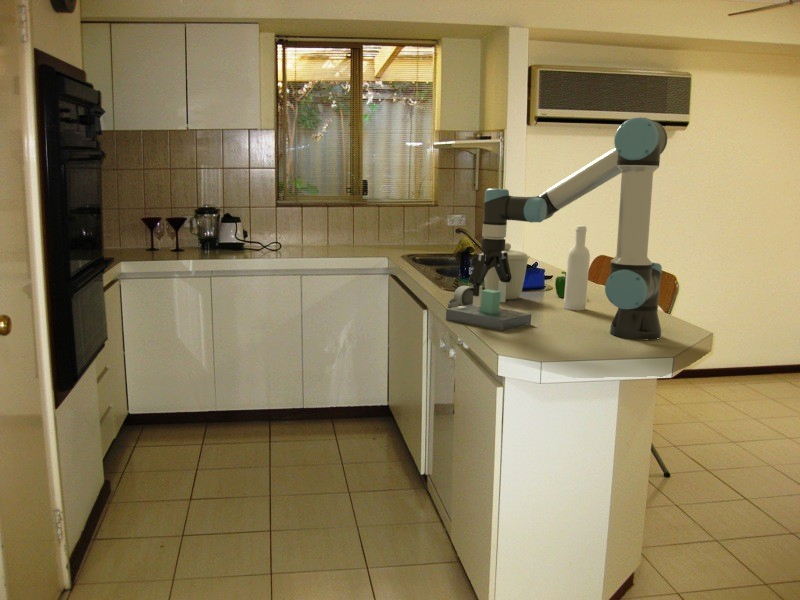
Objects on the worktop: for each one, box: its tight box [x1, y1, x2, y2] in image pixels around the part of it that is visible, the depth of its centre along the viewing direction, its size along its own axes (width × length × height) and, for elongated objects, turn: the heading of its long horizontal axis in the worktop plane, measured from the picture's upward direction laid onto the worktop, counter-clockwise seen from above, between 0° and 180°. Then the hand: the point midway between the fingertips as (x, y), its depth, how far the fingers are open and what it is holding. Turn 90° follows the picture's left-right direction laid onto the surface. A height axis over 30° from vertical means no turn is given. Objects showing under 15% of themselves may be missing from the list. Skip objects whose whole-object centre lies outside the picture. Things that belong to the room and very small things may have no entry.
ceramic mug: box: [447, 285, 473, 308], centre depth 277 cm, size 11×8×8 cm
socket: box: [445, 304, 532, 332], centre depth 253 cm, size 22×16×4 cm
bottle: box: [562, 224, 591, 312], centre depth 282 cm, size 8×8×30 cm
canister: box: [481, 242, 530, 301], centre depth 299 cm, size 18×18×21 cm
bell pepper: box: [554, 270, 566, 299], centre depth 308 cm, size 8×8×10 cm
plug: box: [479, 289, 501, 314], centre depth 252 cm, size 5×4×9 cm
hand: (489, 304), depth 252 cm, fingers open, 13 cm apart
